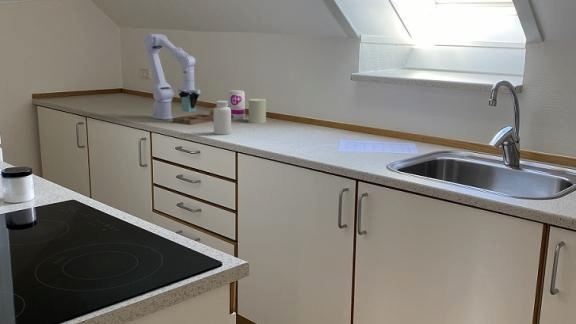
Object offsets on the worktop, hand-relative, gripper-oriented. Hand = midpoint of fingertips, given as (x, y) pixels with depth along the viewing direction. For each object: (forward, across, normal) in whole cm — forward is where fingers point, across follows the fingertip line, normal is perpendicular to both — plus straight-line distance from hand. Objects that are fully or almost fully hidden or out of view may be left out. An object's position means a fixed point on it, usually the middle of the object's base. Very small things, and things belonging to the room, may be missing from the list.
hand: (189, 107), depth 311 cm
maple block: (+5, 0, +17) cm, 18 cm away
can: (+8, +26, +24) cm, 36 cm away
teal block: (+2, 0, 0) cm, 2 cm away
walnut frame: (+8, 0, +4) cm, 9 cm away
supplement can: (+8, +12, +24) cm, 27 cm away
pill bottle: (+8, +35, -13) cm, 38 cm away
